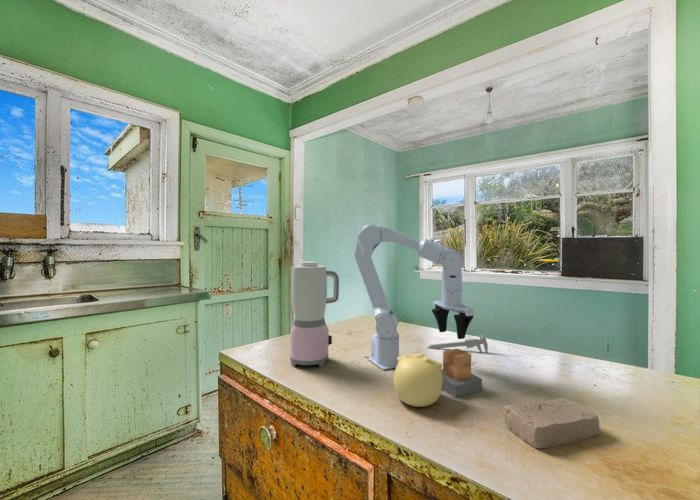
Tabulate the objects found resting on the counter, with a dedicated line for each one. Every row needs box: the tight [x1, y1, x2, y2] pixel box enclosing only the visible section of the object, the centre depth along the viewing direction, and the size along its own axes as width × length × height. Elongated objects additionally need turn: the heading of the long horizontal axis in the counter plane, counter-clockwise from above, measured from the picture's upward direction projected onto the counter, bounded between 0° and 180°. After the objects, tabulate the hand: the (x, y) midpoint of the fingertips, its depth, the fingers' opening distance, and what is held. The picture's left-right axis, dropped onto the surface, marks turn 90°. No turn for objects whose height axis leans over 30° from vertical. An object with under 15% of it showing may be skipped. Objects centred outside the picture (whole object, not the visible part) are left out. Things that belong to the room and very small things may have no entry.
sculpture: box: [392, 352, 443, 408], centre depth 75 cm, size 12×12×11 cm
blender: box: [289, 261, 340, 368], centre depth 100 cm, size 16×12×32 cm
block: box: [442, 347, 472, 381], centre depth 82 cm, size 5×5×6 cm
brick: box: [503, 397, 601, 449], centre depth 63 cm, size 17×8×5 cm, turn 106°
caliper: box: [426, 334, 489, 354], centre depth 110 cm, size 20×1×6 cm, turn 75°
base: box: [441, 368, 483, 399], centre depth 82 cm, size 9×9×3 cm
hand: (451, 335), depth 93 cm, fingers open, 7 cm apart
